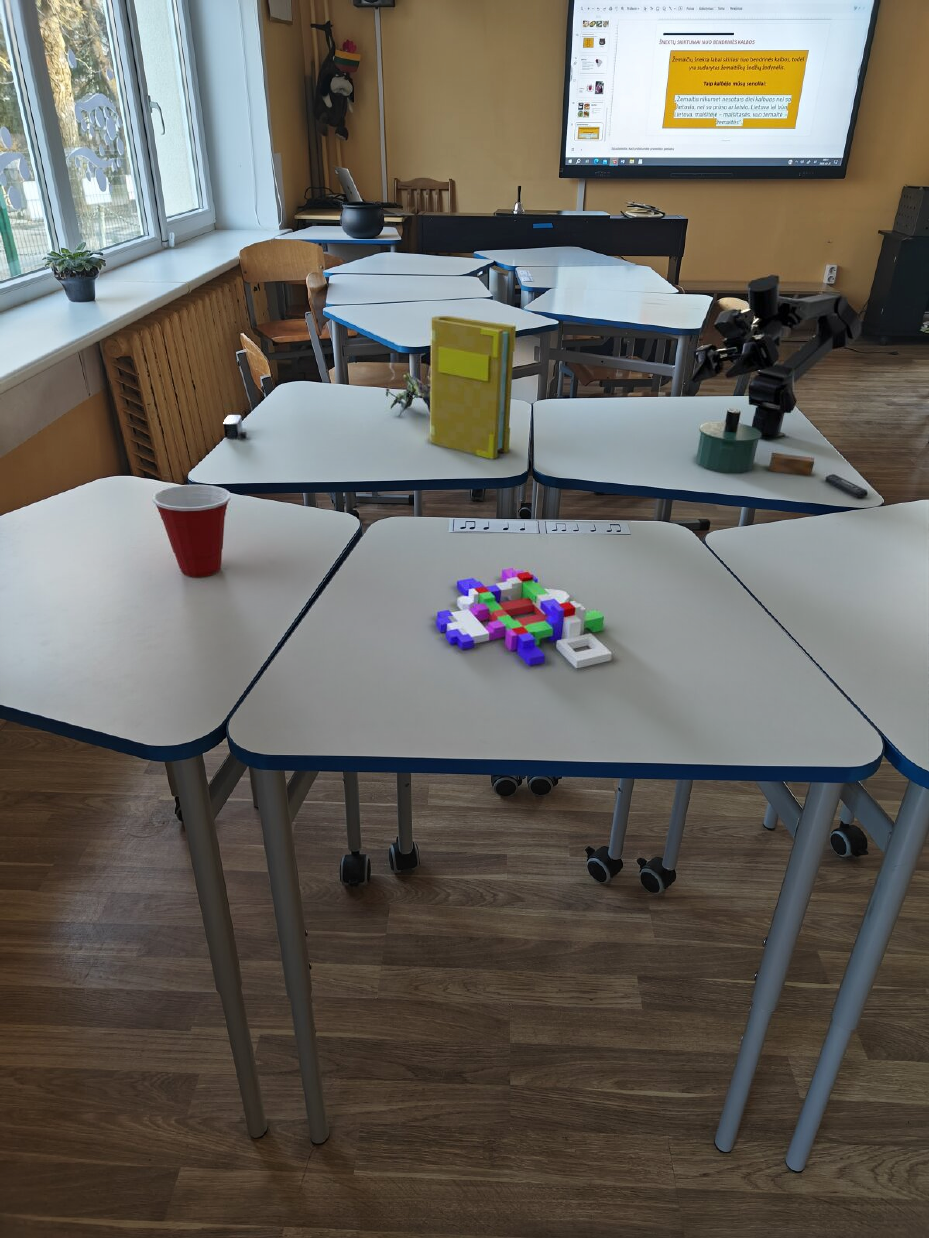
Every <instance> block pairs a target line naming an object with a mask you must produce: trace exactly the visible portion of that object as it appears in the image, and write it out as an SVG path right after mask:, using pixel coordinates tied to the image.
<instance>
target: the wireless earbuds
mask: <svg viewBox="0 0 929 1238" xmlns="http://www.w3.org/2000/svg"><path fill="white" fill-rule="evenodd" d="M242 422H243V421H242V415H240V414H228V415H227V417H226V418H225V419H224V422H223V431H224V437H225V438H226V439H238V438H240V439H241V440H244V439H245V440H246V439H247V435H248V433H247V431H245V430H243V423H242ZM242 430H243V431H242Z"/></svg>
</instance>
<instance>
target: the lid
mask: <svg viewBox="0 0 929 1238" xmlns="http://www.w3.org/2000/svg"><path fill="white" fill-rule="evenodd" d="M741 413H742V411H741V410H739V409H735V408H728V409H727V410H726V415H725V421H709V422H704V423H702V424H701V425H700V426H699V428H698V429H699V430H698V431H699V433H700V434H701V433H702V434H703V435H705V436H707V437H709V438H712V439H716V440H720V441H726V442H737V443H744V442H753V441H756V440H758V441H759V440H760V439H762V438H761V432H760V431H759V430H758V429H756V428H754V427H752V425H748V424H744V423H741V422H740V419H741Z"/></svg>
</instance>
